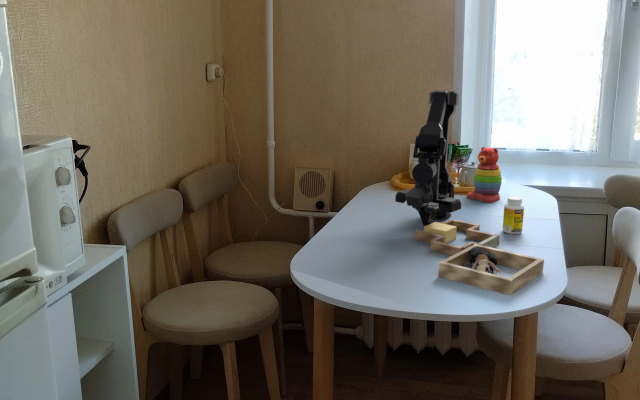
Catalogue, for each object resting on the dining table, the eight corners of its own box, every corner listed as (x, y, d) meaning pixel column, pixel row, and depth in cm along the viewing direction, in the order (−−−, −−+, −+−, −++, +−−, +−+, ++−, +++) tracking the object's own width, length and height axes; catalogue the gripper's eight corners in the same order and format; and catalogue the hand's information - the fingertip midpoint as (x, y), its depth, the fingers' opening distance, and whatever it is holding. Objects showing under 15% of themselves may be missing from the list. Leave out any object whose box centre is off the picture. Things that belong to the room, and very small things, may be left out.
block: (423, 240, 192) (424, 226, 191) (434, 235, 196) (435, 221, 195) (445, 245, 187) (445, 231, 186) (456, 240, 192) (456, 226, 191)
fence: (438, 276, 163) (438, 262, 162) (474, 256, 177) (475, 243, 176) (510, 295, 151) (511, 280, 151) (542, 272, 165) (544, 259, 164)
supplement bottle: (513, 235, 194) (515, 201, 191) (498, 231, 198) (500, 197, 196) (526, 232, 197) (529, 198, 194) (511, 228, 201) (513, 194, 199)
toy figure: (503, 287, 158) (495, 262, 172) (501, 262, 156) (493, 239, 170) (472, 289, 159) (466, 264, 173) (470, 264, 157) (464, 241, 171)
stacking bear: (464, 197, 237) (466, 147, 232) (483, 193, 243) (486, 144, 238) (488, 203, 228) (491, 151, 224) (507, 199, 234) (511, 148, 230)
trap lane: (404, 244, 187) (404, 235, 186) (445, 225, 203) (445, 217, 203) (469, 259, 174) (470, 250, 174) (507, 239, 191) (508, 230, 190)
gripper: (384, 176, 190) (383, 229, 194) (442, 186, 179) (439, 242, 183) (406, 170, 199) (405, 221, 203) (463, 179, 187) (460, 233, 191)
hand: (426, 229), depth 194 cm, fingers closed
